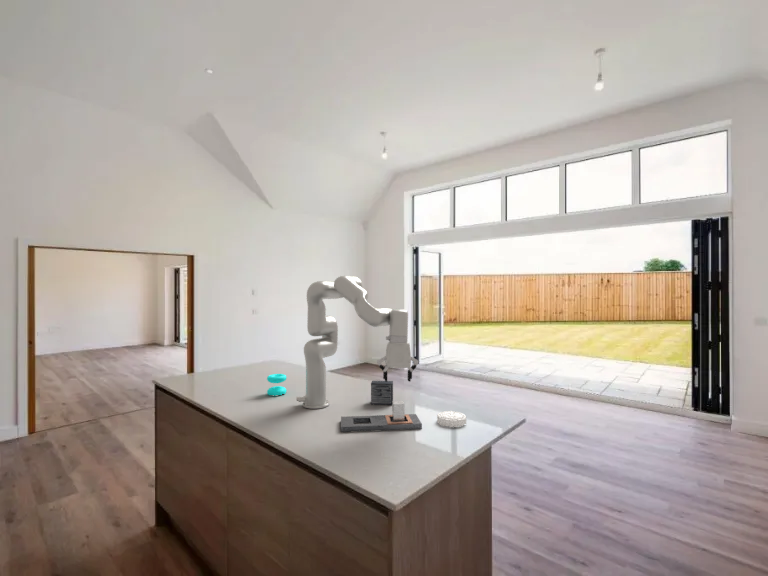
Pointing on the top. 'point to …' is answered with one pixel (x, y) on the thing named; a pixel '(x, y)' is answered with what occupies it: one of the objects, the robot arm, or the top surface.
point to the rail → (379, 423)
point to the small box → (381, 392)
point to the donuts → (276, 389)
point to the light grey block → (397, 411)
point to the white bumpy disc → (451, 418)
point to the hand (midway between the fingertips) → (397, 380)
